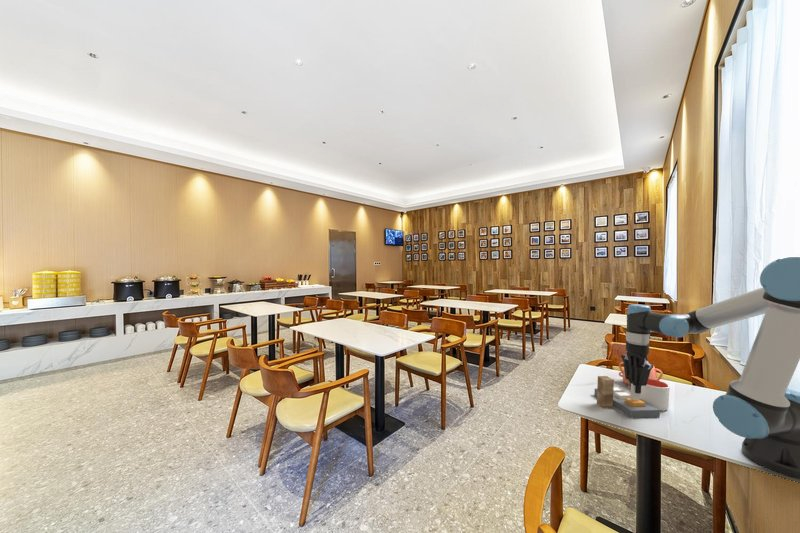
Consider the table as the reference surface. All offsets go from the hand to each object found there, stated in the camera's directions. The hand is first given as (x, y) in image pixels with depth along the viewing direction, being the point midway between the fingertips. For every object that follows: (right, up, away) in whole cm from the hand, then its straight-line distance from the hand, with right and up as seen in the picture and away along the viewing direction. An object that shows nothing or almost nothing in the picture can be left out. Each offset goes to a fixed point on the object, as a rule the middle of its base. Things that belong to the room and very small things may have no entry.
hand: (634, 399), depth 124 cm
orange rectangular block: (0, -4, 0) cm, 4 cm away
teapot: (+21, -5, +25) cm, 33 cm away
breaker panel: (-1, -5, +5) cm, 7 cm away
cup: (+12, -5, +5) cm, 14 cm away
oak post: (-9, -5, +4) cm, 11 cm away
